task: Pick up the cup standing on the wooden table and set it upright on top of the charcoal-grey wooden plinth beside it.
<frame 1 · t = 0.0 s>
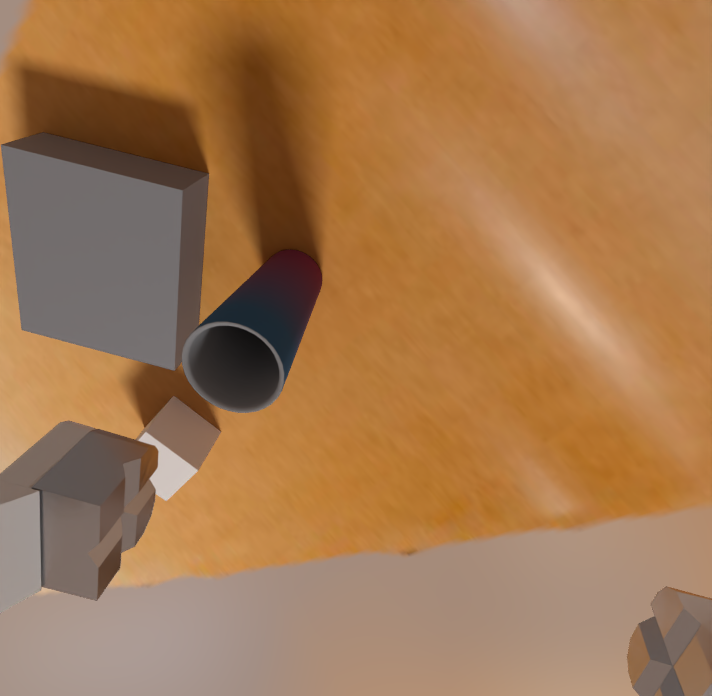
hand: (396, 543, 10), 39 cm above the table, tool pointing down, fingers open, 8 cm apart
plinth: (125, 245, 52), on the table
cup: (294, 276, 51), on the table
white cube: (183, 428, 62), on the table
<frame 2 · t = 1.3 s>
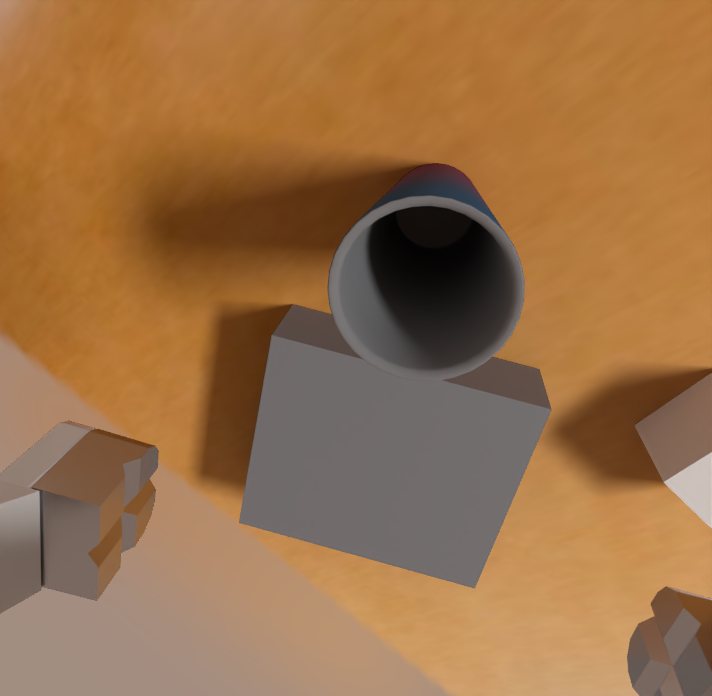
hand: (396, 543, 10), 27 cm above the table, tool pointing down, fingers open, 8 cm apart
plinth: (388, 427, 41), on the table
cup: (434, 207, 35), on the table
white cube: (703, 425, 38), on the table
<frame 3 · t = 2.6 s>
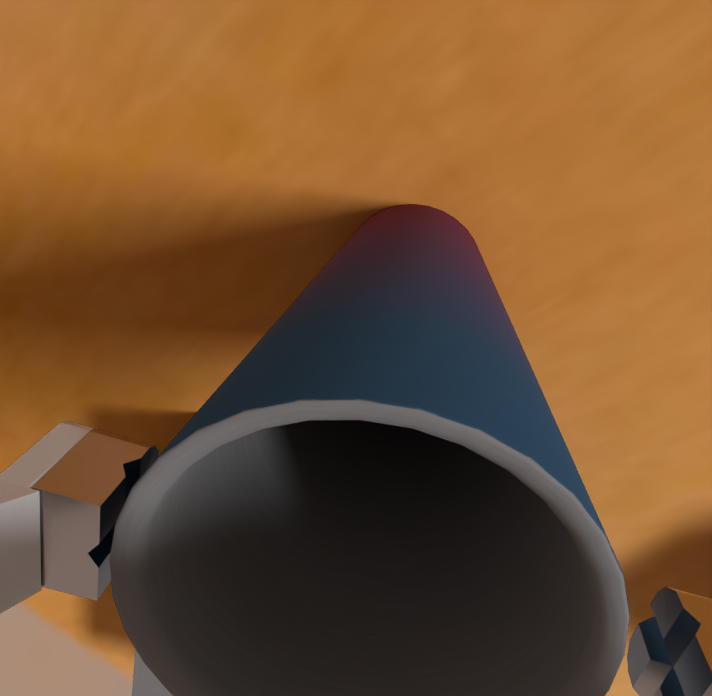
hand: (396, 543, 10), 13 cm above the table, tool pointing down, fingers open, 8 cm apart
plinth: (351, 579, 28), on the table
cup: (411, 273, 22), on the table
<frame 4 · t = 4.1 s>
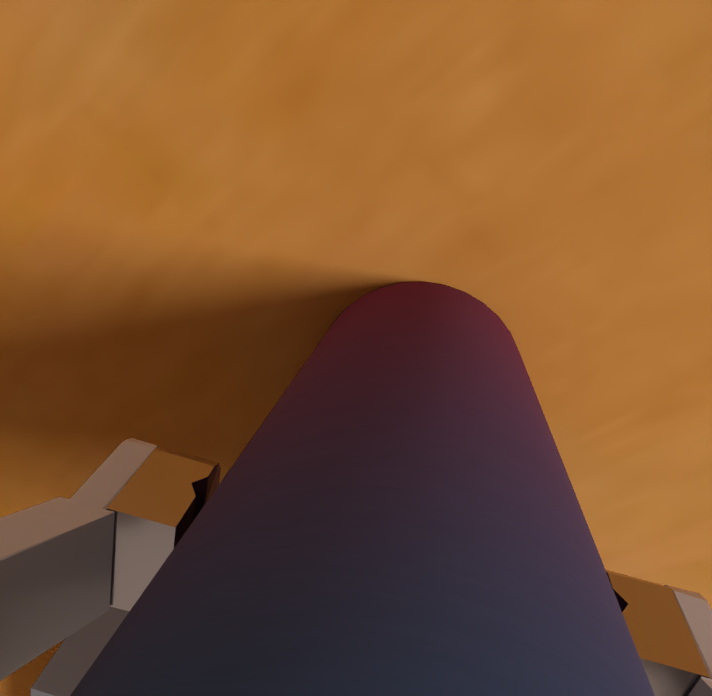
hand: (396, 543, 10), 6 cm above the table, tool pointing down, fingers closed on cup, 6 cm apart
cup: (418, 374, 15), on the table, touching gripper
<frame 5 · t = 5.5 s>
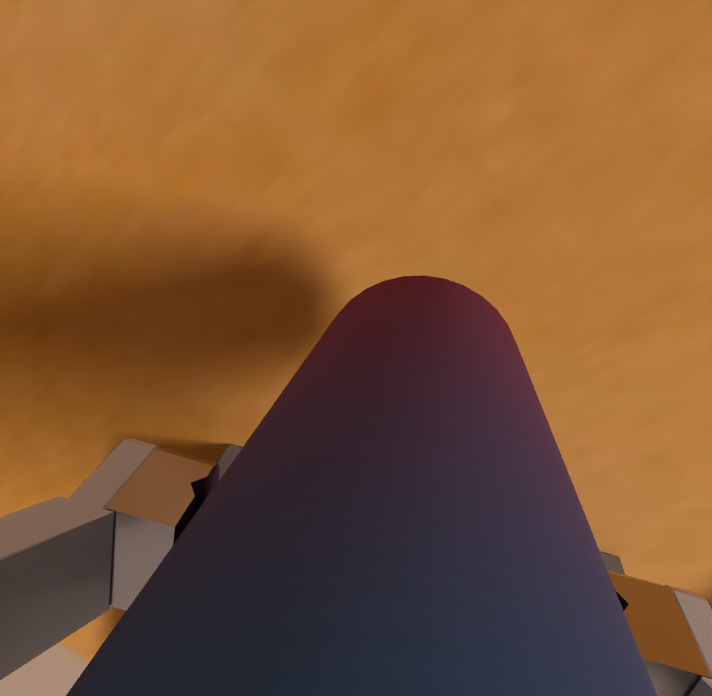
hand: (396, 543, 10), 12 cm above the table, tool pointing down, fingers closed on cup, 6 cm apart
plinth: (380, 621, 27), on the table
cup: (418, 365, 16), point 6 cm above the table, touching gripper
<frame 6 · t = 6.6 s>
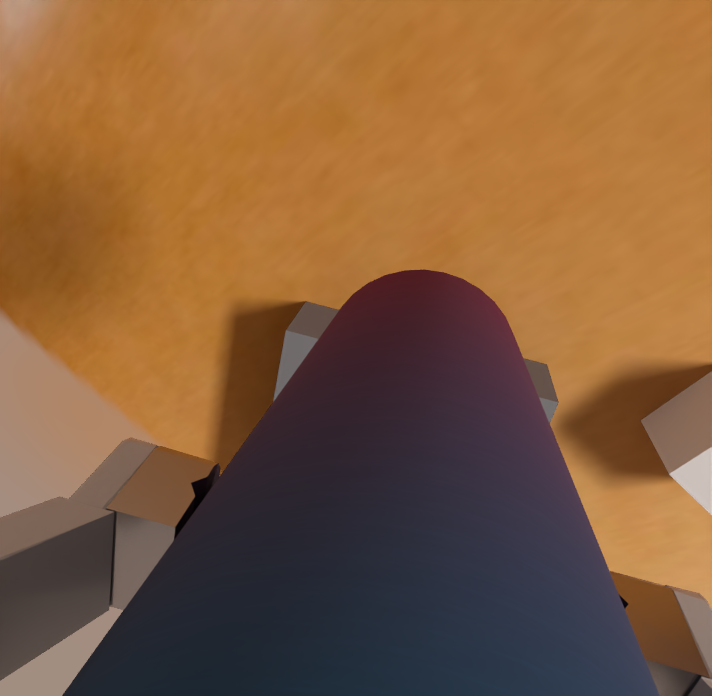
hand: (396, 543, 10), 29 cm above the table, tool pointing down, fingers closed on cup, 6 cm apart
plinth: (399, 422, 42), on the table
cup: (419, 357, 16), point 21 cm above the table, touching gripper
white cube: (709, 420, 38), on the table
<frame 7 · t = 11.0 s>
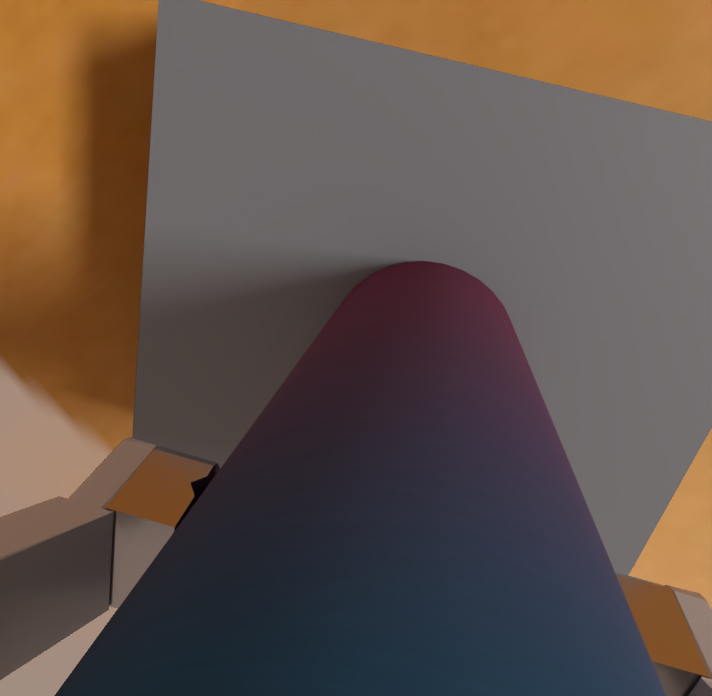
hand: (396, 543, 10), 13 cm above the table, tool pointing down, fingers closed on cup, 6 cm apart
plinth: (428, 290, 21), on the table
cup: (421, 346, 17), point 5 cm above the table, touching gripper, plinth
when the fingers open (12 cm above the table, at t = 11.9 s): cup stays where it is, resting on plinth.
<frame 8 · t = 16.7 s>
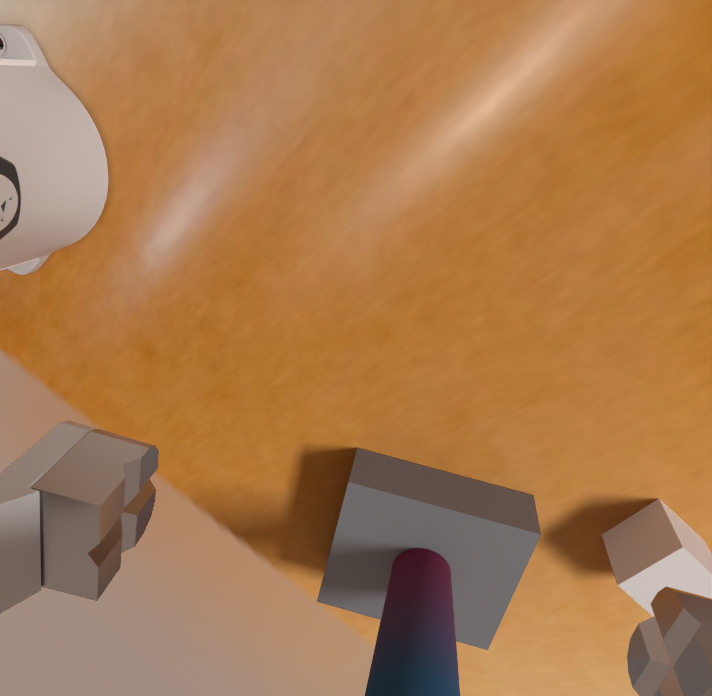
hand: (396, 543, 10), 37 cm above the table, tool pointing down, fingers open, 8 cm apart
plinth: (424, 530, 56), on the table
cup: (421, 568, 52), point 5 cm above the table, touching plinth
white cube: (651, 535, 53), on the table
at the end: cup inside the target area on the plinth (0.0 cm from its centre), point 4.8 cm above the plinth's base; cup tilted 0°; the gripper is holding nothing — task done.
